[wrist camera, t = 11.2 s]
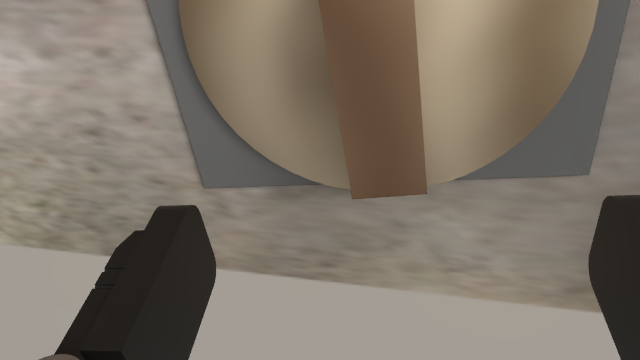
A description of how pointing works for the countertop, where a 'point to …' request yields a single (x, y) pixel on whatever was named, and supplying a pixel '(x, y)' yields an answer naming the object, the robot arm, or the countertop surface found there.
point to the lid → (385, 81)
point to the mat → (520, 161)
